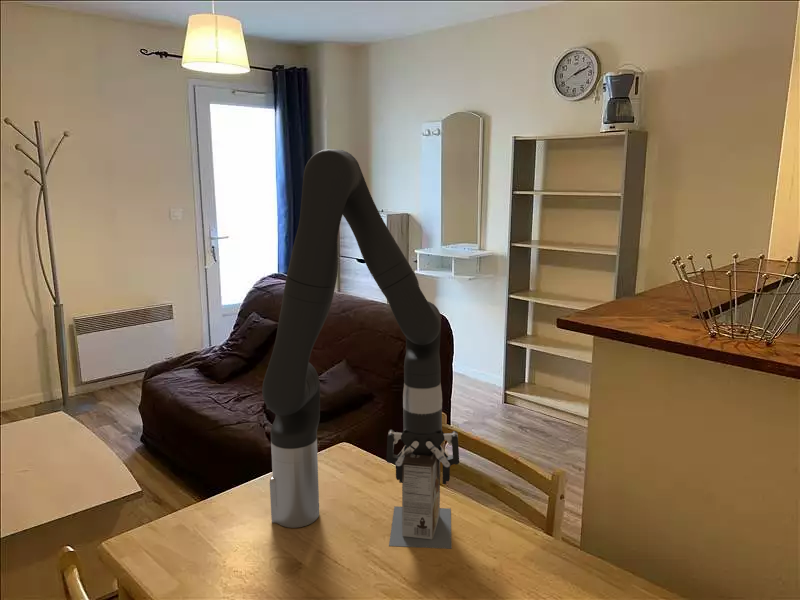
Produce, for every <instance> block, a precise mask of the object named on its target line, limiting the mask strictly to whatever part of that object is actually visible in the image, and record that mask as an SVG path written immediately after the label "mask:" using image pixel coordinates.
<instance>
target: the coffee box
mask: <svg viewBox="0 0 800 600" xmlns="http://www.w3.org/2000/svg"><path fill="white" fill-rule="evenodd" d="M401 485H402V487H401V488H402V489H401V490H402V491H401V493H402V497H401V498H402V499H401V500H402V501H401V505H402V506H401V507H402V536H405V537H414V538H423V539H431V540H432V539H433V537H434V534H435V530H436V526H437V523H438V519H439V515H440V507H441V505H440V504H441V461H440V460H438V459H437V458H436V456H435V455H434V454H431V456H428V455H415V454H413V453H411V455H410V456H409V457H404V459H403V462H402V483H401Z"/></svg>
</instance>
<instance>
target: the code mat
mask: <svg viewBox="0 0 800 600" xmlns="http://www.w3.org/2000/svg"><path fill="white" fill-rule="evenodd" d="M452 545H453V544H452V510H451V508H449V507H446V508H443V507H441V508H440V515H439V519H438V523H437V526H436V530H435V534H434V537H433V539H432V540H431V539H423V538H414V537H405V536H402V506H398V505H397V506H394V507H393V515H392V523H391V530H390V536H389V542H388V547H396V548H397V547H401V548H419V549H420V548H423V549H424V548H425V549H446V550H447V549H448V550H451V549H452Z"/></svg>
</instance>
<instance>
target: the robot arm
mask: <svg viewBox="0 0 800 600" xmlns="http://www.w3.org/2000/svg"><path fill="white" fill-rule="evenodd" d="M301 189H302V190H301V198H300V199H301V200H300V202H301V203H300V213H299V219H298V220H299V221H298V227H297V229H296V230H297V231H296V235H295V237H294V242H293V244H292V245H293V247H292V251H291V257H290V260H289V264H288V269H287V272H286V277H285V278H286V279H285V283H284V289H283V295H282V302H281V307H280V312H279V316H278V317H279V318H278V323H277V330H276V336H275V340H274V345H273V350H272V353H271V356H270V359H269V362H268V365H267V369H266V372H265V374H264V377H263V378H264V379H263V381H262V388H261V391H262V392H261V393H262V398H263V401H264V403H265V405H266V407H267V408H268V410H269V411H271V413H272V414H275V418H274V419H273V420H274V421H273V422H272V425H271V427H270V449H271V451H270V452H271V469H272V470H271V471H272V473H271V474H272V475H271V477H270V478H269V492H270V498H269V499H270V516H271V517H270V518H271V520H270V521H271V523H274V524H277V525H280V526H282V527H285V528H301V527H306V526H308V525H311V524H313V523H314V522H315V521H317V519H318V518H319V516H320V494H319V493H320V491H319V466H318V465H319V464H318V461H319V460H318V459H319V457H318V428H319V424H320V418H321V385H320V384H321V383H320V377H319V373H318V371H317V370H316V368H315V367H314V366H313V364H312V363H311V362H310V358H311V353H312V352H313V351H312V350H313V348H314V345H315V343H316V342H317V339H318V338H319V335H320V332H321V331H322V329H323V327H324V324H325V322H326V320H327V318H328V315H329V312H330V310H331V307H332V303H333V298H334V293H335V290H336V284H337V279H338V271H339V270H338V269H339V259H338V258H339V257H338V256H339V255H338V253H339V252H338V251H339V250H338V238H339V237H338V236H339V230H340V224H341V222H342V217H344V219H345V221H346V222H347V224H348V226H349V228H350V229H351V231H352V233H353V235H354V237H355V240H356V242H357V246H358V248H359V251H360V253H361V256H362V258H363V261H364V263H365V265H366V267H367V269H368V271H369V273H370V274H371V276H372V278H373V279H374V282H375V283H376V284H377V286H378V288H379V290H380V291H381V293H382V294H383V296H384V297H385V298H386V300H387V302H388V304H389V307H390V309H391V312H392V314H393V316H394V318H395V321H396V323H397V324H398V327H399V329H400V331H401V332H402V334H403V335H404V336H405V356H404V362H403V364H404V365H403V380H404V381H403V389H402V390H403V391H402V408H403V410H402V413H403V414H402V417H403V418H402V419H403V420H402V421H403V422H402V423H403V424H402V425H403V429H402V432H398V431H396V432H395V430H393V429H389V430H388V434H387V437H386V458H385V460H386V463H388V464H391V463H392V464H394V465H395V479H396V480H397V481H398V482H399V483H400V484H402V462H403V459H404V457H409V456H410V455H411V453H413V454H415V455H428V456H431V454H434V455H435V456H436V458H437V459H438V460H440V464H441V463H442V484H443V485H447V482H449V481H450V478H451V477H450V475H451V473H450V472H451V470H450V469H451V466H452V465H456V466H457V465H459V463H460V452H459V449H460V448H459V436H458V435H459V433H458V431H457V430H453V431H452V432H450V433H444V431H443V391H442V384H441V383H442V382H441V380H442V379H441V377H442V376H441V375H442V374H441V370H442V369H441V368H442V367H441V358H440V357H441V356H440V347H441V334H442V333H441V331H442V330H441V329H442V328H441V327H442V317H441V312H440V310H439V309H438V307H437V306H436V305H435V304H434V303H433V302H431V301H428V300H427V298H426V297H425V295H424V293H423V292H422V290H421V288H420V284H419V279H418V278H417V275H416V274H415V273H416V272H415V271H414V270H413V268H412V267H411V265H410V263H409V262H408V259H407V258H406V256H405V255H404V253H403V251H402V250H401V248H400V247H399V244H398V243H397V241H396V240H395V238H394V236H393V235H392V233H391V231H390V230H389V228H388V226H387V224H386V223H385V221H384V219H383V217H382V215H381V213H380V211H379V209H378V208H377V205H376V204H375V201H374V199H373V197H372V194H371V192H370V190H369V187H368V184H367V181H366V180H365V177H364V175H363V171H362V169H361V166H360V164H359V162H358V160H357V158H356V157H354V155H352V153H349V152H348V151H345V150H344V149H338V148H334V149H333V148H331V149H322V150H320V151H317V152H316V153H314V154H313V155H312V156H311V157H310V159H308V161H307V163H306V165H305V167H304V170H303V177H302V188H301ZM399 440H401V442H403V444H404V446H403V448H402V449H401V451H400V452H399V453H398V454H395V453H394V452H395V451H394V450H395V445H396V444H398V442H399ZM444 441H446V442H447V444H448V445H450V446H451V448H452V455H448V454H447V452H446V451H445V450H444V447H443V446H442V444H443V443H444Z"/></svg>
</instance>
